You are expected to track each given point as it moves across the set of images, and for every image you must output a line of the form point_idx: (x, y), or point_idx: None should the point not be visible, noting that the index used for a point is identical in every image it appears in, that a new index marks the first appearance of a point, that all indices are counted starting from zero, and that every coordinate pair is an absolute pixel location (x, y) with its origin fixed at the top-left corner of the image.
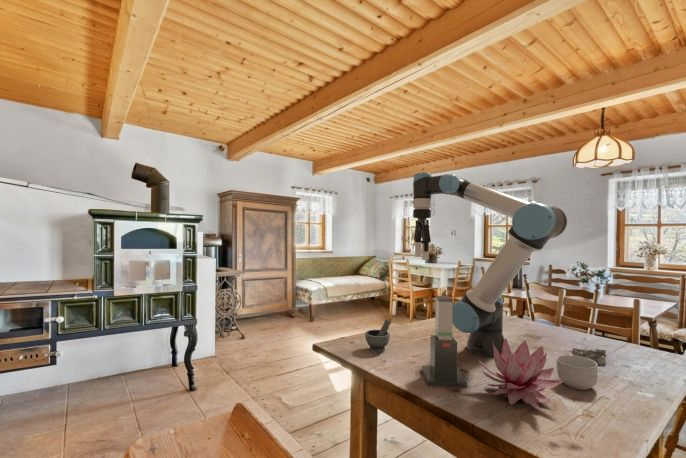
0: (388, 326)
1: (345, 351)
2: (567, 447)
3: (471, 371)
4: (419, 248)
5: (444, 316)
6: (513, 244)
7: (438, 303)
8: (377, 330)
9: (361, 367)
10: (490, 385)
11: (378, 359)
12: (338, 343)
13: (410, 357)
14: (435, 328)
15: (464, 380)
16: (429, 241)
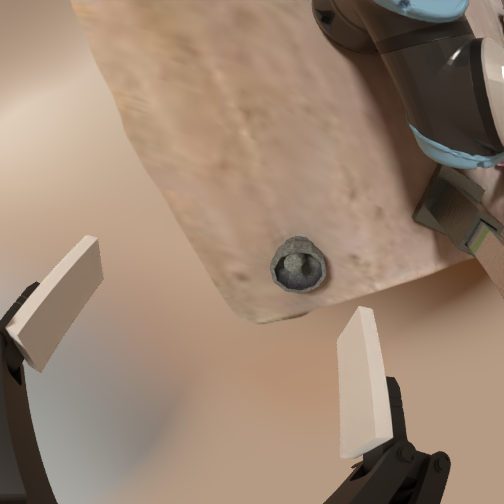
0: (300, 257)
1: (288, 299)
2: None
3: None
4: (58, 302)
5: None
6: None
7: None
8: (276, 264)
9: (362, 295)
10: (502, 164)
11: (343, 263)
12: (244, 298)
13: (356, 205)
14: (475, 255)
15: (480, 189)
16: (440, 459)
